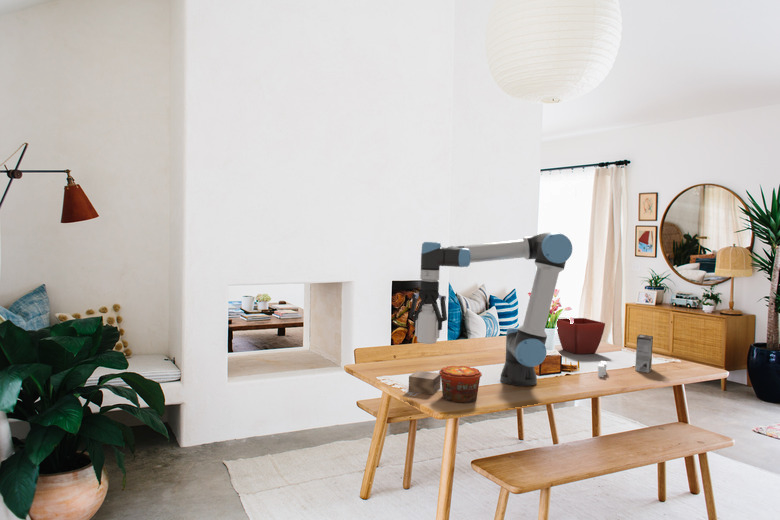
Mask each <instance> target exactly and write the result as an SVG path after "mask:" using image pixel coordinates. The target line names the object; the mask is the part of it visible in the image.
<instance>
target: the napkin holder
mask: <svg viewBox="0 0 780 520" xmlns="http://www.w3.org/2000/svg"><path fill="white" fill-rule="evenodd" d="M604 376H607V361H605V360H600V363H598V366H597V377H598V378H604Z"/></svg>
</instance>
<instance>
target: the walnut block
mask: <svg viewBox="0 0 780 520" xmlns="http://www.w3.org/2000/svg"><path fill="white" fill-rule="evenodd" d="M441 385H442V382H441V374H440V373H439V372H430V371H423V370H416V371H414V372H413V373H412V374H410V375H409V376H408V392H411V393H417V394H425V395H430V396H431V395H434V394H435V393H437V392H438V391H439V390H440V389H441Z"/></svg>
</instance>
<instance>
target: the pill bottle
mask: <svg viewBox="0 0 780 520" xmlns="http://www.w3.org/2000/svg"><path fill="white" fill-rule="evenodd" d="M436 322H438V320H437V317H436V314H435V311H434V309H433V306H432V304H425V305H422V311H421V312H420V313H419V315H418V330H417V336H416V342H418V343H419V344H424V345H433V344H436V343H437V342H438V341H437V340H438V339H435V334H436Z"/></svg>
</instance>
